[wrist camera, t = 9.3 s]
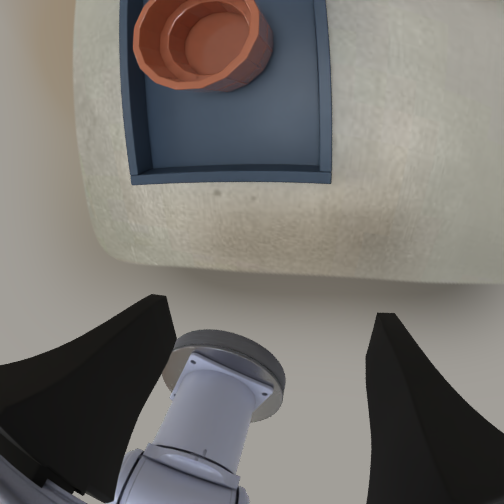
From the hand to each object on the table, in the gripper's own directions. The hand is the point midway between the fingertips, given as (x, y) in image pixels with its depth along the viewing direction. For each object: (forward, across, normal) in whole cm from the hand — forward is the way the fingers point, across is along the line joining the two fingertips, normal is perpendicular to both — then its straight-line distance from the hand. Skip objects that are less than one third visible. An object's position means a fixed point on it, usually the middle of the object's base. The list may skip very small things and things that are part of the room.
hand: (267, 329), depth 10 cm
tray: (+9, +4, -11) cm, 15 cm away
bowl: (+9, +4, -11) cm, 14 cm away
